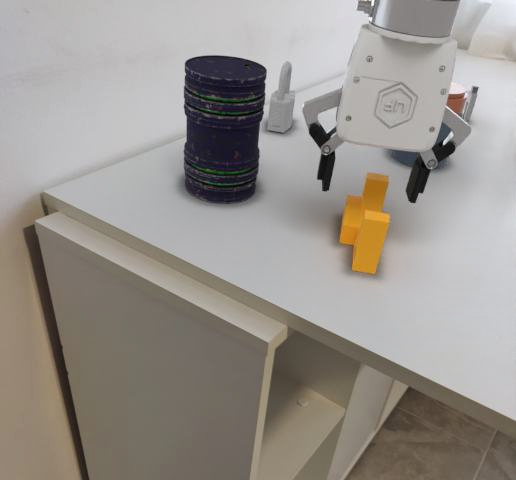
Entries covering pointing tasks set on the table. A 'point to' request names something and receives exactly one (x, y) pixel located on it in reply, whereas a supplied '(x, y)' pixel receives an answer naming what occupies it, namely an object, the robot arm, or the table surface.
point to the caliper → (470, 103)
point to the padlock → (282, 102)
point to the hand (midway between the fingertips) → (367, 192)
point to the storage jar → (223, 127)
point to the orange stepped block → (366, 223)
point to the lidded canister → (457, 105)
